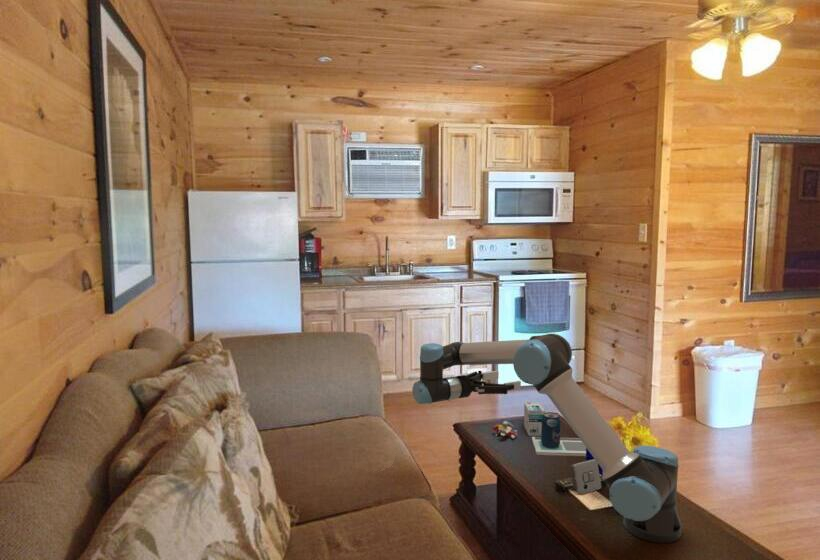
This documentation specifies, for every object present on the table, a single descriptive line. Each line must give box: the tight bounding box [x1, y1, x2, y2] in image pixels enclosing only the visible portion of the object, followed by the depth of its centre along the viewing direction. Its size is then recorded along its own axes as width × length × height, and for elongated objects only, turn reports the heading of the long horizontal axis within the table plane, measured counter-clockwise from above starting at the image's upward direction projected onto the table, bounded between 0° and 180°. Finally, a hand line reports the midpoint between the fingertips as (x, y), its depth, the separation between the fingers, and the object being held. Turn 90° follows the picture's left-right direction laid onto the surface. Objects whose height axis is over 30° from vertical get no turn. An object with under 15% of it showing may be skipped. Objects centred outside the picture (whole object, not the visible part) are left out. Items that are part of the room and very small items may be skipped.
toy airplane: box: [492, 420, 518, 439], centre depth 226 cm, size 9×9×6 cm
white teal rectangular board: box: [531, 436, 586, 457], centre depth 215 cm, size 14×20×1 cm
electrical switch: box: [569, 459, 602, 495], centre depth 183 cm, size 9×5×9 cm, turn 116°
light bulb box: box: [523, 401, 546, 437], centre depth 231 cm, size 11×7×11 cm, turn 179°
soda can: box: [540, 411, 562, 448], centre depth 214 cm, size 7×7×12 cm
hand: (508, 379), depth 201 cm, fingers open, 13 cm apart
